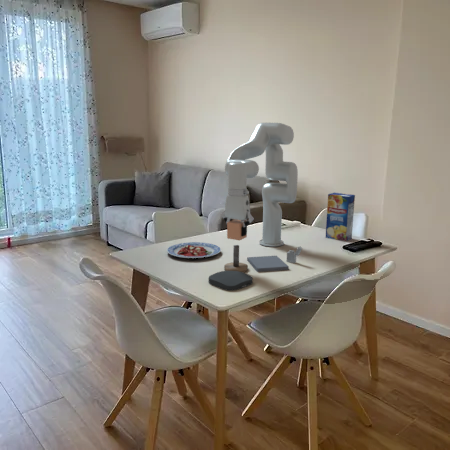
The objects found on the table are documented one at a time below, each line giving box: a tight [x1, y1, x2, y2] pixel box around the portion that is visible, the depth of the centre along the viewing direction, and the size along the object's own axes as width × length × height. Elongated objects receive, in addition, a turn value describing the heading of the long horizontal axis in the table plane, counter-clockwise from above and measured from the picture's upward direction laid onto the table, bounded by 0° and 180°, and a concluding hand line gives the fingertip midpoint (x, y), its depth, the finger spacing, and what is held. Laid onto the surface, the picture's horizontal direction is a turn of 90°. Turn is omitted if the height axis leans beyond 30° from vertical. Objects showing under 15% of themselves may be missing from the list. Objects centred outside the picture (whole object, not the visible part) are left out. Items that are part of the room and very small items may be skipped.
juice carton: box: [325, 192, 356, 242], centre depth 244 cm, size 12×8×24 cm, turn 50°
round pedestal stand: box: [223, 244, 249, 273], centre depth 193 cm, size 10×10×10 cm
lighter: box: [286, 246, 303, 264], centre depth 204 cm, size 7×2×8 cm, turn 48°
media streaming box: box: [208, 270, 254, 291], centre depth 179 cm, size 15×15×3 cm
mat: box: [246, 255, 290, 273], centre depth 200 cm, size 16×14×2 cm
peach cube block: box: [226, 219, 248, 241], centre depth 191 cm, size 6×6×7 cm
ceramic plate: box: [166, 241, 222, 260], centre depth 217 cm, size 26×26×3 cm
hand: (237, 234), depth 191 cm, fingers closed on peach cube block, 5 cm apart
